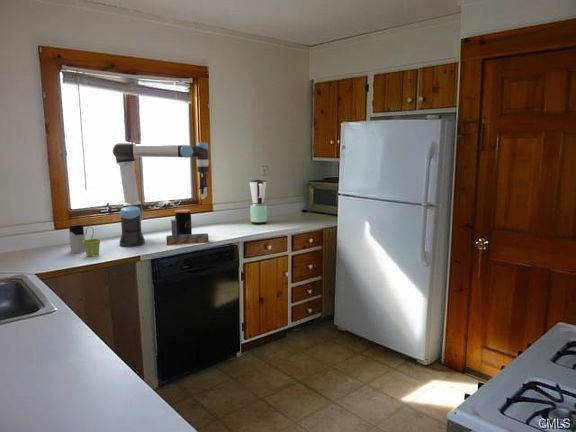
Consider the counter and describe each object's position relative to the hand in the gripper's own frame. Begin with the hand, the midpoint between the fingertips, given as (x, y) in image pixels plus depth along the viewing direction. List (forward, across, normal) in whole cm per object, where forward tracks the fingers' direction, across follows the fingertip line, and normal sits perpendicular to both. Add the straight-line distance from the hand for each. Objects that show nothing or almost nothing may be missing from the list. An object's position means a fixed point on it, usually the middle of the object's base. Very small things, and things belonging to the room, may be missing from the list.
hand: (203, 197), depth 295 cm
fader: (+24, -18, +17) cm, 34 cm away
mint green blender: (+26, +49, -38) cm, 67 cm away
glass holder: (+28, -33, +68) cm, 81 cm away
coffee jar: (+27, +3, +14) cm, 31 cm away
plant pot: (+28, -47, +58) cm, 79 cm away
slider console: (+27, -17, +9) cm, 33 cm away
